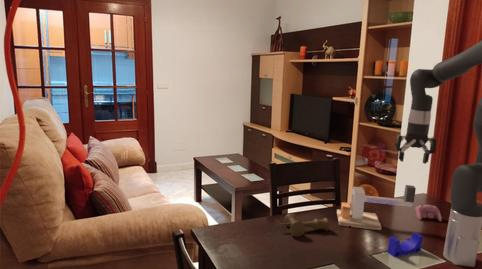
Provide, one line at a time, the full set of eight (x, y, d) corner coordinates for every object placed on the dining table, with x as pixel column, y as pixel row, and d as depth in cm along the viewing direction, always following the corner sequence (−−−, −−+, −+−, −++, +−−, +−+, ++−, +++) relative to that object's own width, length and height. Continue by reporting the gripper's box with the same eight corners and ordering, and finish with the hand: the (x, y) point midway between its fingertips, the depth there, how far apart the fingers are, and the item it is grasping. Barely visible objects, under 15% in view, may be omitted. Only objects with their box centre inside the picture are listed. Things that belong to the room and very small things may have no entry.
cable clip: (410, 245, 127) (412, 230, 126) (420, 252, 123) (422, 236, 121) (384, 250, 122) (386, 235, 121) (394, 257, 118) (396, 241, 117)
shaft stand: (381, 230, 138) (385, 198, 135) (339, 225, 140) (342, 193, 138) (374, 216, 150) (378, 186, 147) (336, 212, 153) (339, 183, 150)
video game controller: (437, 222, 151) (436, 205, 153) (443, 221, 147) (441, 204, 149) (414, 220, 152) (413, 204, 154) (419, 219, 148) (418, 203, 149)
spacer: (349, 218, 143) (350, 207, 142) (341, 218, 144) (342, 206, 143) (347, 213, 148) (349, 202, 147) (340, 213, 148) (341, 202, 147)
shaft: (412, 207, 139) (415, 188, 137) (365, 202, 142) (368, 183, 140) (410, 204, 142) (413, 185, 140) (364, 199, 145) (366, 181, 143)
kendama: (331, 237, 132) (280, 237, 128) (322, 226, 141) (274, 226, 138) (333, 222, 131) (282, 222, 127) (323, 212, 140) (275, 212, 137)
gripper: (402, 121, 132) (396, 163, 136) (442, 124, 130) (435, 166, 133) (397, 119, 140) (391, 158, 143) (435, 121, 137) (428, 161, 140)
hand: (412, 162), depth 138 cm, fingers open, 8 cm apart
